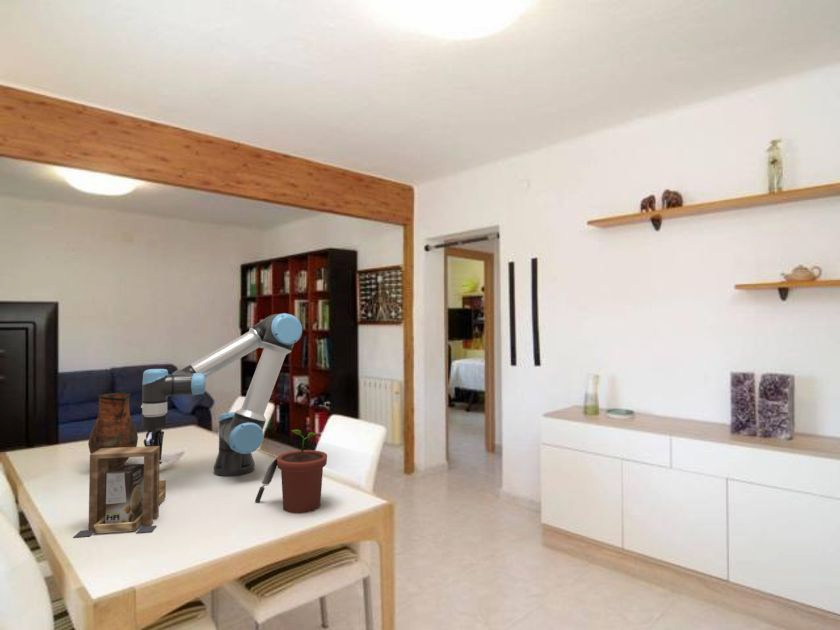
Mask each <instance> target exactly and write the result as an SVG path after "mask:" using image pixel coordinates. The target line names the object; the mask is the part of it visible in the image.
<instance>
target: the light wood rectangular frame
mask: <svg viewBox="0 0 840 630" xmlns="http://www.w3.org/2000/svg"><path fill="white" fill-rule="evenodd" d="M166 484H167V481H166V478H163V479H159V505H160V504H161V503H162V502H163V501H164V500H165V499H166V493H167V491H166V490H167V489H166V486H167V485H166ZM142 525H143V512H142V513H141V514H140V515H139V516H138V517H137V519H136V520H135V521H134V522H125V523H110V524H105V516H104V517H103V518H102V519H101V520H100V521H99V522H97V523H96V524H95V525H94V528H93V534H104V533H105V534H106V533H116V532H117V533H118V532H132V531H137V529H138V528H139V527H141V526H142Z"/></svg>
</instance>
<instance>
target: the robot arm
mask: <svg viewBox="0 0 840 630" xmlns="http://www.w3.org/2000/svg"><path fill="white" fill-rule="evenodd" d="M302 334H303V326H302V323H301V321H300V320H299V319H298V317H296V316H295V315H293V314H290V313H286V312H283V313H274V314H271V315H269V316H267V317H266V318H264V319H262V320H261V321H259V322H258V323H256V324H255V325H253V326H251V327H250V328H249V330H248V331H246V332H245V333H244V334H242V335H240V336H238V337H237V338H234V339H233V340H232V341H230V342H228V343H226V344H224V345H222V346H220V347H219V348H217V349H215V350H214V351H212V352H210V353H208V354H206V355H204V356H203V357H201V358H199V359H198V360H197V359H196V361H193V363H190V364H189V365H187V366H185V367H183V368H181V369H177V370H175V371H174V372H172V373H171V374H169V371H168V369H165V368H150V369H146V370H144V371H143V373H142V387H141V388H142V390H141V391H142V392H141V394H142V404H141V406H140V409H142V410H141V415H142V417H141V427H142V428H143V429H147V432H146V433H145V439H144V440H143V445H144V447H148V446H160V465H161V464H162V463H163V462H162V452H163V443H164V442H163V441H164V435H165V431H162V428H163V427H166V426H167V424H168V415H167V414H168V397H175V396H176V397H178V396H195V395H197V396H198V395H202V394H204V393H205V391H206V387H207V386H206V384H207V383H206V379H207V378H209V377H211V376H212V375H214V374H216V373H217V372H220V371H222V370H223V369H224V368H226V367H228V366H229V365H231V364H233V363H235V362H236V361H238V360H240V359H241V358H243V357H245V356H247V355H248V354H250V353H252V352H253V351H255V350H257V349H259V348H260V349H263V350H262V352H261V356H260V358H259V361H258V363H257V365H256V368H255V371H254V374H253V377H252V379H251V382H250V384H249V387H248V389H247V391H246V395H245V398H244V400H243V403H242V405H241V407H240V408H239V409H238V410H237V409H236V411H234V412H224V413H221V414H220V415H219V419H218V454H217V456H216V458H215V462H214V465H213V474H215V475H216V476H220V477H236V476H241V475H246V474H249V473H251V472H253V471H254V470H255V460H254V456H253V452H255V451H257V450H258V449H259V448H260V447H261V445H262V444H263V442H264V437H265V435H264V427H265V424H266V423H267V419H266V417H265V413H266V410H267V406H268V404H269V402H270V399H271V397H272V393H273V392H274V391H273V390H274V387H275V385H276V384H277V383H276V382H277V380H278V378H279V374H280V371H281V370H282V366H283V363H284V361H285V358H286V356H287V355H288V354H290V353H292V351H293V348H294V345H295V343H297V342H298V341H299V340H300V339H301V337H302Z"/></svg>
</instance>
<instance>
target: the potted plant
mask: <svg viewBox="0 0 840 630" xmlns="http://www.w3.org/2000/svg"><path fill="white" fill-rule="evenodd" d="M291 432H292V433H293V434H295V435H297V436H300V437H301V438H302V446H301V450H293V451H288V452H287V451H286V452H283V453H281V454H279V455H278V456H276V457H275V458H274V459H272V461H271V462H270V463H269V465H268V466H267V468H266V471H265V473H264V475H263V477H262V481H261V484H262V486H260V487H259V489H258V491H257V494H256V497H255V500H254V501H255V503H260V502H261V499H262V496H263V494H264V491H265V487H267V486H269V485H270V483H271V482H272V480H273V477H274V475H275V472H276V470H277V469H278V470H280V473H281V475H280V477H281V492H282V493H281V494H282V510H283V511H284V512H286V513H289V514H308V513H311V512H314V511H316V510H318V509H319V508H320V507H321V500H322V489H323V487H322V486H323V485H322V484H323V471H324V467H325V466H326V465H327V461H328V454H327V453H326V452H324V451H320V450H314V449H304V448H305V440H306V439H308V438H311V437H314V436H317V433H315V432H311V431H310V432H309V433H308V434H307V437H304V435H302V430H300V429H292V430H291Z"/></svg>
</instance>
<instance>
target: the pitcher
mask: <svg viewBox="0 0 840 630" xmlns="http://www.w3.org/2000/svg"><path fill="white" fill-rule="evenodd" d="M130 396H131V393H129V392H109V393H104V394H99V395H98V396H97V397H98V401H99V402H98V413H97V418H96V421H95V423H94V426H93V427H92V429H91V431H90V433H89V434H90V435H89V439H88V450H89V453H90V454H92V453H94V452H95V451H97V450H99V449H101V448H122V447H138V439H139V436H138V430H137V428H136V426H135V423H134V421H133V418H132V417H131V412H130V398H131V397H130ZM129 458H130V457H123V458H108V472H109V471H111V470H113V469H115V468H117V467H119V466H121V465H123V464H126V462H127V461H128V460H129Z"/></svg>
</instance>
